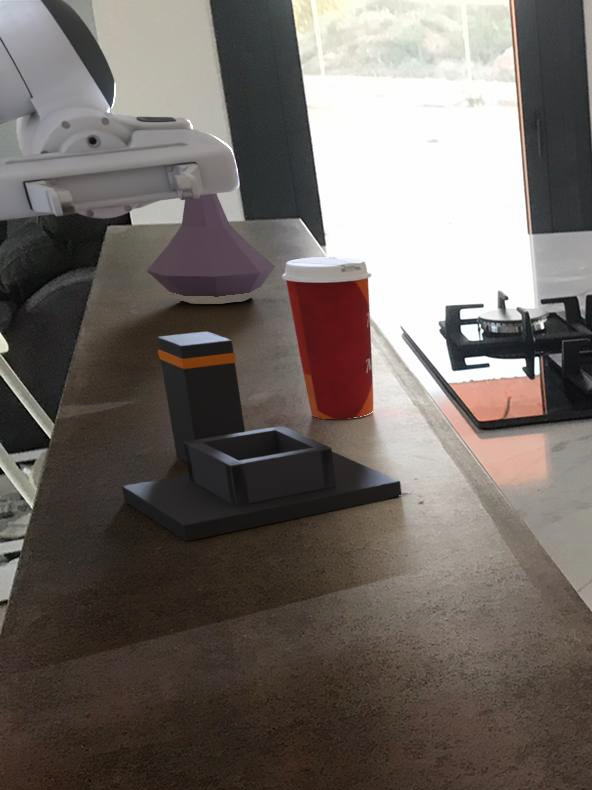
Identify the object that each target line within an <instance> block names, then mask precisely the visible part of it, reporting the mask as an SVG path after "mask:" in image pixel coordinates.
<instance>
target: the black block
mask: <svg viewBox="0 0 592 790" xmlns="http://www.w3.org/2000/svg"><path fill="white" fill-rule="evenodd" d="M156 340H157V347H158V349H157V352H158V358H159V360H160V364H161V370H162V376H163V382H164V388H165V395H166V400H167V407H168V412H169V418H170V424H171V431H172V437H173V442H174V443H173V444H174V449H175V454H176V455H175V456H176V458H177V459H179V460H181V461H183V462H184V463H185V464H187V460H186V454H185V447H184V442H185V441H191V440H197V439H204V438H210V437H216V436H222V435H228V434H234V433H241V432H246V429H245V423H244V415H243V410H242V409H243V408H242V402H241V394H240V387H239V380H238V373H237V368H236V367H237V366H236V363H237V359H236V353H235V352H234V345H233V341H232V339H229V338H227V337H223V336H221V335H218V334H215V333H212V332H209V331H198V332H189V333H180V334H179V333H178V334H172V335H161V336H157V337H156Z"/></svg>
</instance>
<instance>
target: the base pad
mask: <svg viewBox="0 0 592 790" xmlns="http://www.w3.org/2000/svg"><path fill="white" fill-rule="evenodd" d="M184 447H185V454H186V460H187V463H186V464H187V472H188V473H187V474H182V475H176V476H170V477H166V478H159V479H154V480H149V481H142V482H138V483H132V484H127V485H126V484H125V485H122V486H121V490H122V494H123V495H122V496H123V500H124V502H125V503H127V504H129V505H130V506H132V507H133V508H134V509H136V510H137V511H139V512H141V513H142V514H143V515H145V516H146V517H148V518H150V519H151V520H153V521H155V522H156V523H158V524H159V525H160V526H162V527H164V528H165V529H167V530H168V531H170V532H171V533H173V534H174V535H176V536H178V537H179V538H180V539H182V540H184V541H186V542H191V541H196V540H202V539H205V538H206V539H207V538H211V537H215V536H220V535H225V534H231V533H235V532H239V531H243V530H248V529H252V528H258V527H262V526H267V525H272V524H277V523H281V522H286V521H291V520H295V519H300V518H304V517H310V516H315V515H319V514H325V513H328V512H329V513H330V512H333V511H338V510H343V509H348V508H352V507H356V505H357V506H361V505H360V504H362V505H365V504H364V503H367V504H370V503H369V502H371V503H374V502H373V501H376V502H379V501H378V500H381V501H385V500H390V499H394V498H393V497H395V498H397V497H396V496H399V495H402V486H401V481H400V480H398V479H396V478H393V477H391V476H389V475H387V474H386V473H385V474H384V473H382V472H380V471H378V470H376V469H374V468H371V467H369V466H366V465H365V464H362V463H360V462H357V461H356V460H352V459H351V458H348V457H346V456H345V455H342V454H339V453H338V452H335V451H333V447H331V446H328V445H326V444H324V443H321V442H319V441H317V440H315V439H312V438H310V437H308V436H305V435H304V434H301V433H299V432H297V431H294V430H293V429H290V428H288V427H286V426H283V425H279V426H273V427H265V428H260V429H255V430H254V429H253V430H247V431H245V432H241V433H234V434H228V435H222V436H216V437H210V438H204V439H197V440H191V441H185V442H184ZM389 498H390V499H389ZM384 499H385V500H384Z"/></svg>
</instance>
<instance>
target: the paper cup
mask: <svg viewBox="0 0 592 790" xmlns="http://www.w3.org/2000/svg"><path fill="white" fill-rule="evenodd" d="M284 267H285V269H284V270H285V271H284V273H282V276H281V278H282V279H283V280H284V281H286V287H287V292H288V299H289V303H290V308H291V314H292V320H293V325H294V330H295V336H296V341H297V348H298V352H299V357H300V363H301V368H302V374H303V378H304V384H305V389H306V395H307V399H308V405H309V408H310V413H311V415H313V416H314V417H313V416H312V417H313V418H315V417H318V418H317V419H319V418H321V419H320V420H325V419H347V420H349V419H348V418H354V417H360V416H364V415H367V414H369V413H371V412H372V411H373V412H374V380H373V355H372V336H371V335H372V333H371V332H372V331H371V312H370V291H369V290H370V289H369V278H371V277H372V273H371V272H370V271H368V268H367V264H366V262H365V260H364V259H362V258H356V257H345V256H344V257H343V256H321V257H320V256H319V257H318V256H317V257H304V258H296V259H291V260H288V261H286V263H285V266H284Z"/></svg>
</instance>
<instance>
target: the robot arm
mask: <svg viewBox="0 0 592 790" xmlns="http://www.w3.org/2000/svg"><path fill="white" fill-rule="evenodd" d="M116 87H117V85H116V80H115V78H114V75H113V72H112V70H111V67H110V65H109V63H108V60H107V58H106V56H105V54H104V52H103V50H102V48H101V47H100V44H99V43H98V41H97V40H96V38H95V36H94V34H93V33H92V32H91V30H90V28H89V27H88V25H87V24H86V23H85V21H84V20H83V19H82V17H81V16H80V15H79V14H78V13H77V11H76V10H75V9H74V8H73V7H72V6H71V5H70V4H69V3H68V2H66V1H65V0H0V125H4V124H6V123H8V122H11V121H14V120H16V126H15V129H16V138H17V143H18V146H19V149H20V152H21V155H15V156H8V157H7V156H6V157H0V221H1V222H3V221H9V220H18V219H24V218H25V219H26V218H34V217H41V216H49V215H54V216H56V217H62V216H69V215H76V214H78V215H81V216H84V217H88V218H92V219H112V218H118V217H120V216H121V217H122V216H123V215H126V214H128V213H130V212H132V211H133V210H134V209H135V210H137V209H141V208H145V207H147V206H149V205H151V204H154V203H156V202H159V201H160V202H161V201H167V200H175V199H180V201H185V200H188V199H196V198H200V195H208V194H215V193H217V194H223V193H232V192H234V191H237V190H238V189H239V188H240V176H239V172H238V171H239V170H238V166H237V162H236V158H235V155H234V154H235V153H234V151H233V150H232V148H231V147H230V146H229V145H228V144H227V143H226V142H224V141H223V140H221V139H220V138H218V137H216V136H215V135H213V134H211V133H210V132H206V131H203V130H199V129H194V128H193V125H192V123H191V121H190V120H189V119H188V118H185V117H172V116H134V115H128V114H122V113H117V112H112V111H110V110H112V109H113V106H114V103H115V98H116Z"/></svg>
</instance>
